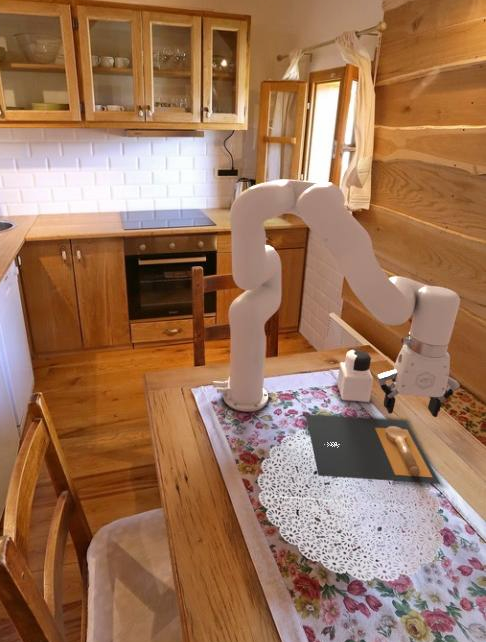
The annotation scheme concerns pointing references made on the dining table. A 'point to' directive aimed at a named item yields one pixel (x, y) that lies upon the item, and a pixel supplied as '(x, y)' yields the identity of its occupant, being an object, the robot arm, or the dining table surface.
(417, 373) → the robot arm
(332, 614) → the dining table surface
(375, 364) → the dining table surface
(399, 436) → the wooden rod with disc
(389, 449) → the mat
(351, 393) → the container
